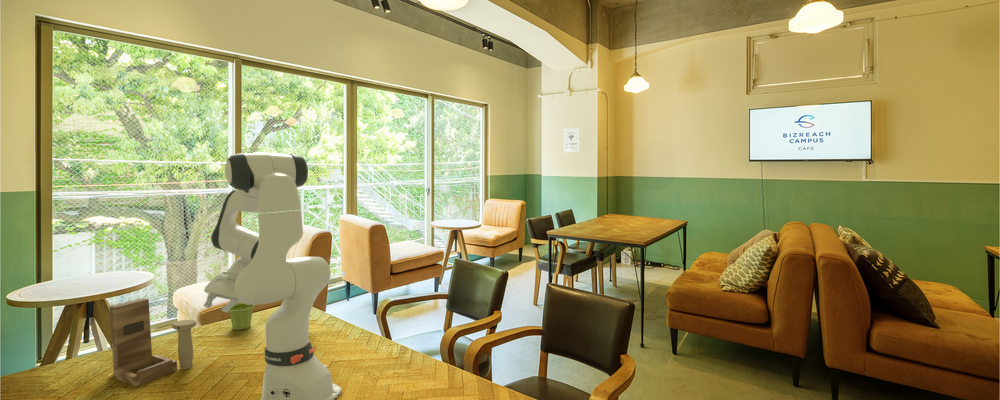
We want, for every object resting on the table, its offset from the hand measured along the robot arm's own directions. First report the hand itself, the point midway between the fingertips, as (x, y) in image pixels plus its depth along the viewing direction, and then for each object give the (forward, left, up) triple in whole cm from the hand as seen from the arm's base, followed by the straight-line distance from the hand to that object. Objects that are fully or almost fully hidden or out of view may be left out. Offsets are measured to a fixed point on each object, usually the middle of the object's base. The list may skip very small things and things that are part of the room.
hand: (214, 309), depth 147 cm
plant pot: (+16, -20, -17) cm, 31 cm away
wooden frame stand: (+8, +18, -16) cm, 25 cm away
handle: (0, +10, -17) cm, 19 cm away
